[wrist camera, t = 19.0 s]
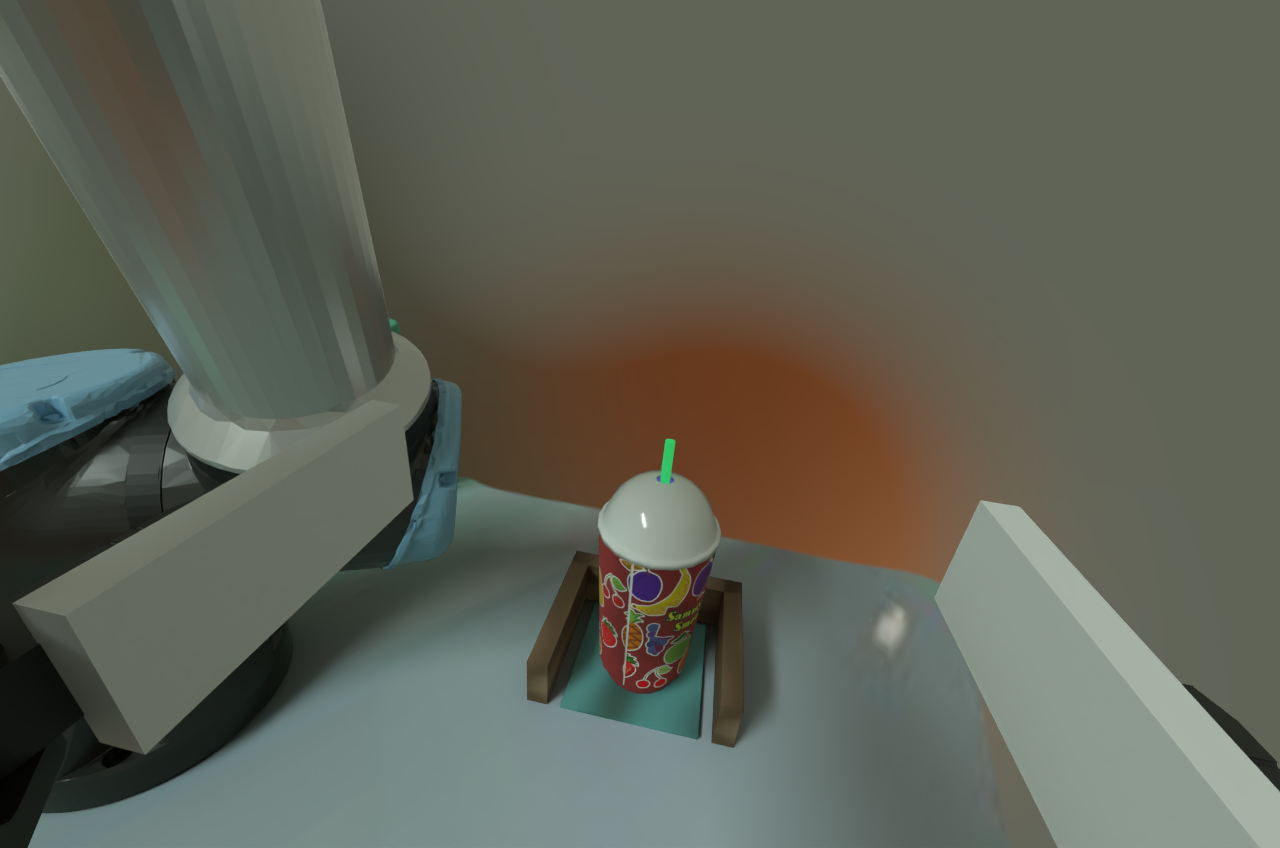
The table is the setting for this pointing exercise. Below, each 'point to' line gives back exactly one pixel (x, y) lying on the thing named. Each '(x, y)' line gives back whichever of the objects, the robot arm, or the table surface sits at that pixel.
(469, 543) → the table surface
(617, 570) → the smoothie
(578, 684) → the holder
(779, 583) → the table surface
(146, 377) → the robot arm
